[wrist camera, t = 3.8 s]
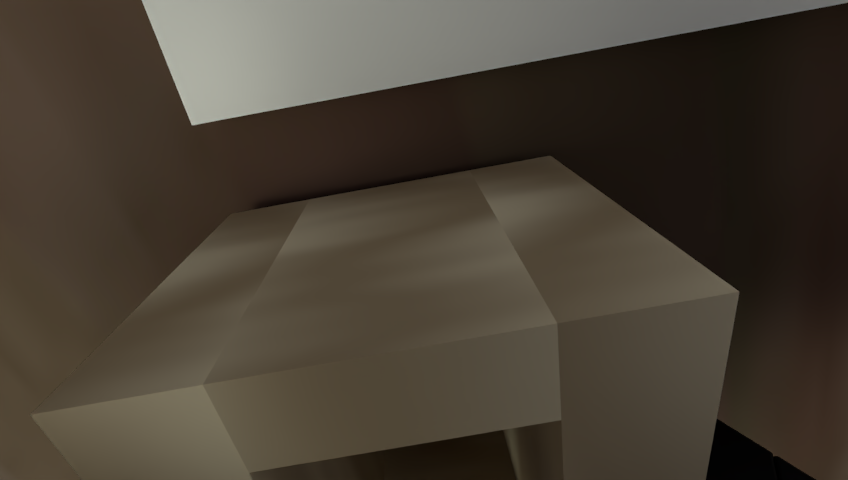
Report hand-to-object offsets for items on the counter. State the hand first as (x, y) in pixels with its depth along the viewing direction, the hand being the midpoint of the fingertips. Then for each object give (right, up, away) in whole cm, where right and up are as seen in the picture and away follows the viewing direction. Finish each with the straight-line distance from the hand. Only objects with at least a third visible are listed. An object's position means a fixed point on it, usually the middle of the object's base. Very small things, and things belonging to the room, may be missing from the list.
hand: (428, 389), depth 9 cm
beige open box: (0, +1, +1) cm, 1 cm away
